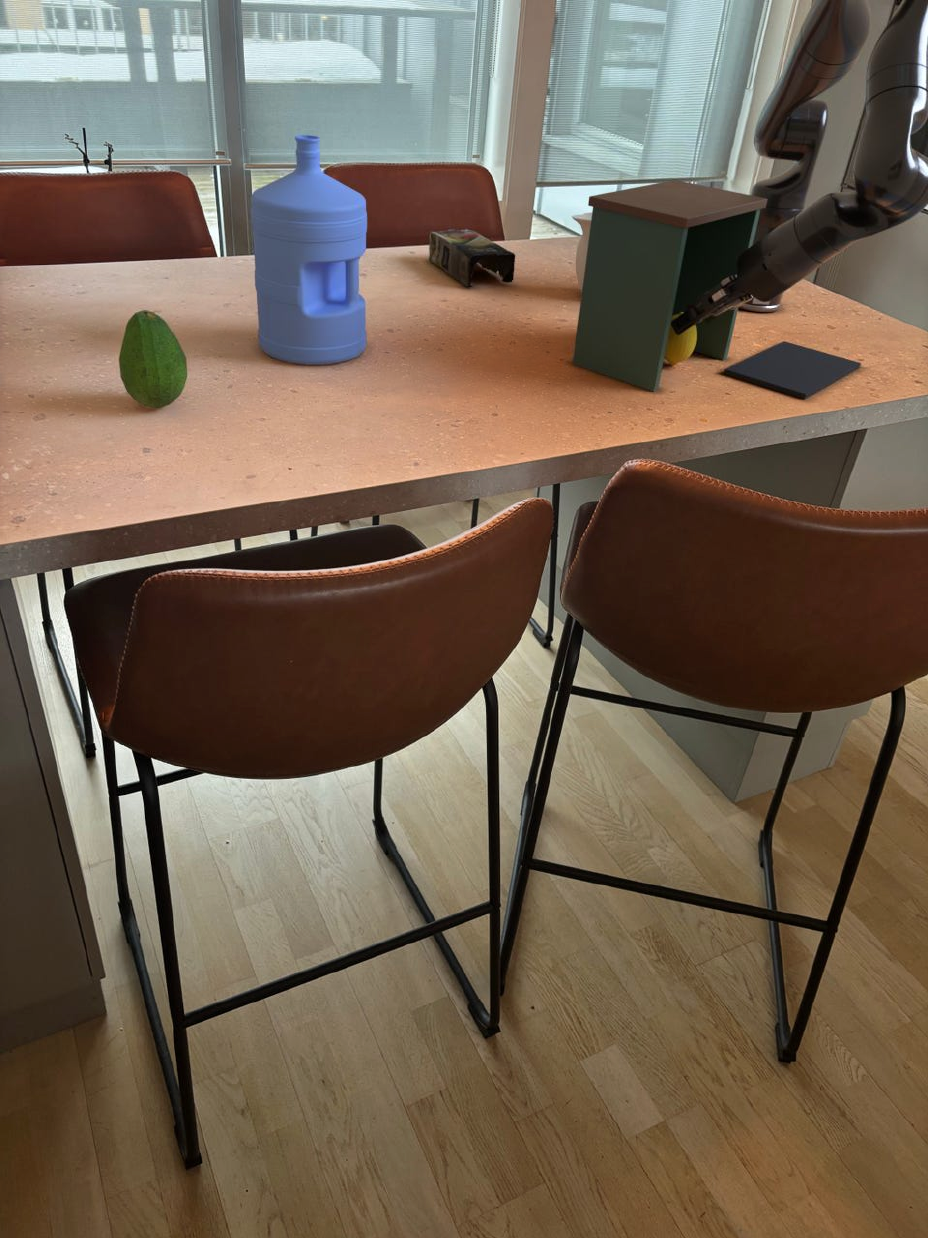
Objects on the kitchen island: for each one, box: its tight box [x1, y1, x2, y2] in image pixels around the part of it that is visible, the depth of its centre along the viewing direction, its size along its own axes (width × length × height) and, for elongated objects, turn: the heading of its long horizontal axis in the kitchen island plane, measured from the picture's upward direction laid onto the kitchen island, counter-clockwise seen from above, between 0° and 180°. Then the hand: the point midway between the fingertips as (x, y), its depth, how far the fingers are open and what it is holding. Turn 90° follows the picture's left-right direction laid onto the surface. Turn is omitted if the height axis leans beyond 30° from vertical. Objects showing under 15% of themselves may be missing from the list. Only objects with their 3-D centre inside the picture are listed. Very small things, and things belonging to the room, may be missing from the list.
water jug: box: [250, 134, 368, 366], centre depth 132 cm, size 16×16×28 cm
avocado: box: [118, 309, 188, 409], centre depth 116 cm, size 8×8×12 cm
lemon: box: [664, 312, 697, 367], centre depth 141 cm, size 6×6×8 cm
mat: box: [723, 340, 862, 400], centre depth 144 cm, size 20×13×1 cm, turn 139°
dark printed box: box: [428, 228, 516, 288], centre depth 177 cm, size 20×10×6 cm, turn 24°
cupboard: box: [572, 179, 767, 393], centre depth 138 cm, size 22×15×23 cm
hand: (689, 322), depth 139 cm, fingers open, 8 cm apart
